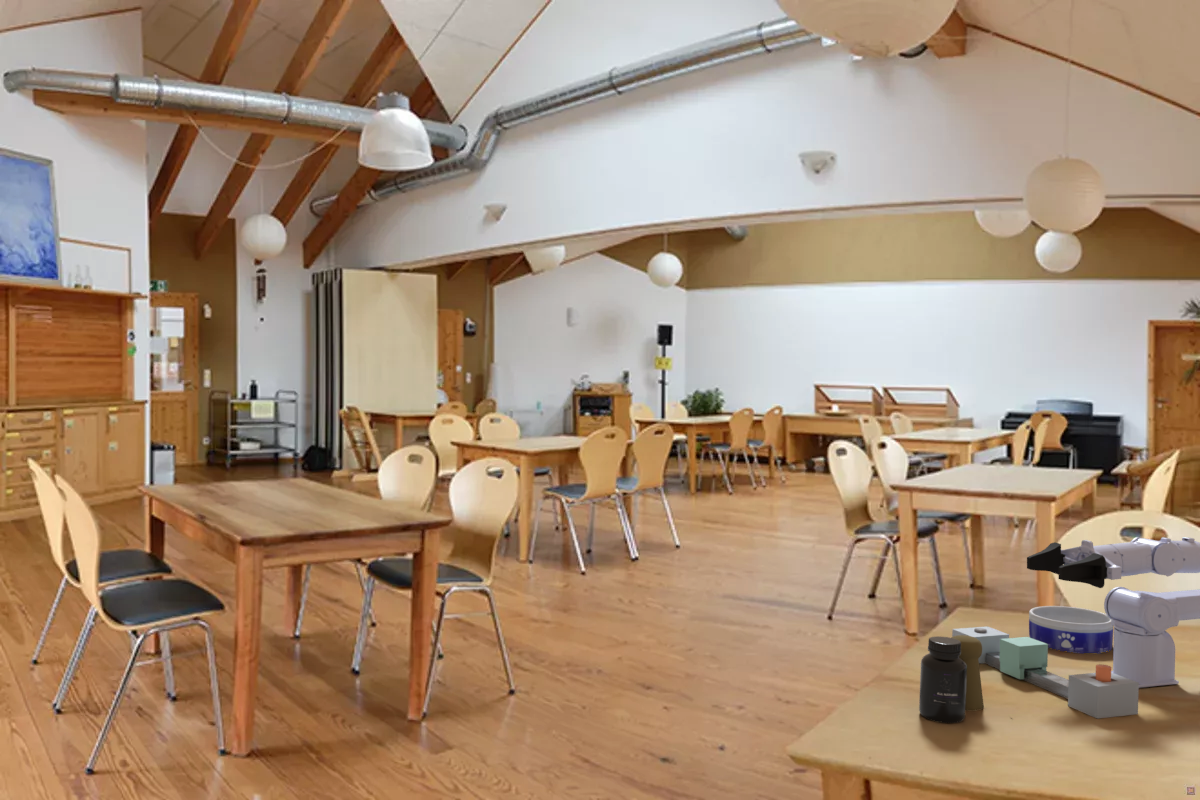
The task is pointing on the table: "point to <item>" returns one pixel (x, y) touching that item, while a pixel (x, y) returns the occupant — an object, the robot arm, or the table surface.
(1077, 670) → the table surface
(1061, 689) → the rail
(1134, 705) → the end cabinet
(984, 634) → the far cabinet
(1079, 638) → the dog bowl
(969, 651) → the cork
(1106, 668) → the orange rounded knob
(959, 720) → the supplement bottle
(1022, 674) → the block
